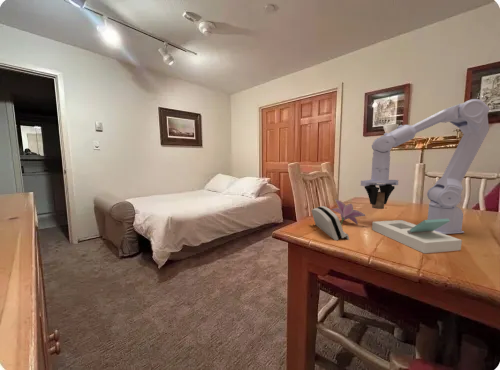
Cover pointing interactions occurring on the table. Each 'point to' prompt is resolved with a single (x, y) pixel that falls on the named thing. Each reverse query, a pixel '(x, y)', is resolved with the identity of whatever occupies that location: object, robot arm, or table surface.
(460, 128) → the robot arm
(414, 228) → the teal flap lid
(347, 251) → the table surface
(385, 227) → the tray
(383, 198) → the peg
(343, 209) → the lily
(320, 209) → the grey curved piece
